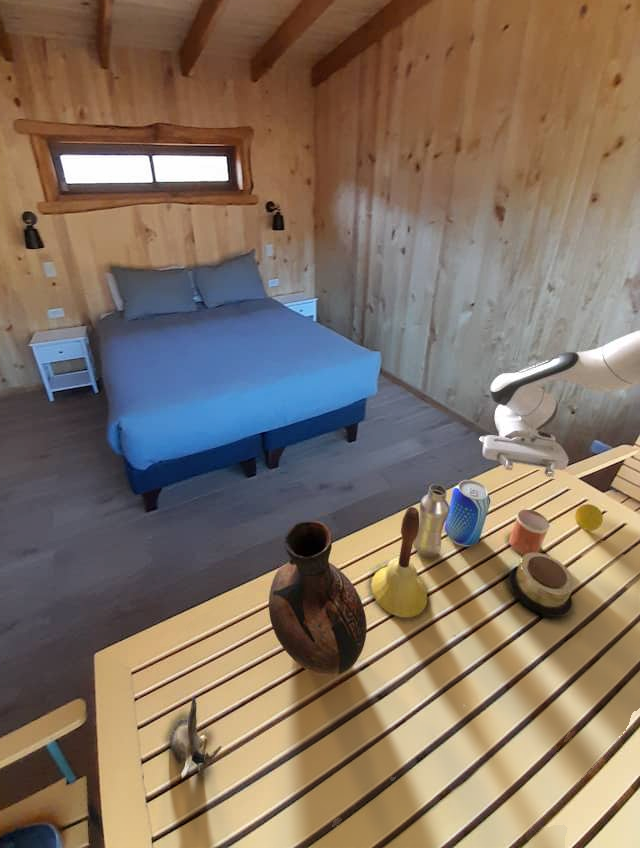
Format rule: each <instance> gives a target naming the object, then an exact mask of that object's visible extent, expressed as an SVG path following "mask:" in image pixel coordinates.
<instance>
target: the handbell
mask: <svg viewBox="0 0 640 848" xmlns="http://www.w3.org/2000/svg"><path fill="white" fill-rule="evenodd" d="M419 518H420V511H419V510H418V509H417V508H416V507H414V506H410V507H408V508H407V509H406V510H405V513H404V515H403V517H402V520H401V526H400V534H401V547H400V551H399V558H394V559H392V560H391V561H389V562H388V564H387V566H384V567H382V568H380V569H379V570H378V571H376V572H375V574H374V576H373V577H372V579H371V585H370V587H371V591H372V595H373V597H374V599H375V601H376V603H377V604H378V605H379V606H380V607H381V608H382V609H383V610H384V611H386V612H387V613H389V614H390V615H393V616H396V617H399V618H412V617H416V616H418V615H420V614H421V613H422V612H423V611H424V610H425V608H426V606H427V604H428V592H427V590H426V587H425V585H424V583H423V582H422V580H421V579H420V577H418V572H417V568H416V567H415V566H414V564H413V563H412V562H410V560H411V555H412V551H413V550H412V549H413V541H414V540H415V539H416V537H417V535H418V531H419V524H420V522H419Z"/></svg>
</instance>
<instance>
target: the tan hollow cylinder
mask: <svg viewBox="0 0 640 848" xmlns="http://www.w3.org/2000/svg"><path fill="white" fill-rule="evenodd" d="M507 584H508V589H509V591H510V593H511V595H512V596H513V598H514V599H515V600H516V601H517V603H518V604H519V605H520V606H521V607H522V608H524V609H525V610H527V611H528V612H530V613H531V614H533V615H535V616H537V617H540V618H543V619H547V620H561V619H563V618H565V617H566V616H567V615H568V614H569V612H570V610H571V608H572V605H573V599H572V595H571V594H572V592H573V590H574V588H575V580H574V577H573V575H572V573H571V571H570V570H569V569H568V568H567V567H566V566H565V565H564V564H563V563H562V562H560V561H559V560H558V559H556V558H554V557H552V556H550V555H548V554H545V553H541V552H539V553H535V552H534V553H528V554H526V555H522V557H521V559H520V561H519V563H518V565H516V566H515V567H513V568H512V569H511V570H510V572H509V576H508V579H507Z"/></svg>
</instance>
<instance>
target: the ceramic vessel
mask: <svg viewBox="0 0 640 848" xmlns="http://www.w3.org/2000/svg"><path fill="white" fill-rule="evenodd" d="M283 544H284V549H285V551H286V553H287V556H288V557H289V561H286V562H285V563H283V564H282V565H281V566H280V567H279V568H278V570H277V571H276V573H275V574H274V577H273V579H272V582H271V585H270V589H269V595H268V613H269V620H270V624H271V626H272V630H273V632H274V634H275V636H276V639H277V641H278V642H279V643H280V645H281V646H282V647H281V648H283V649H284V651H285V652H286V654H287V655H289V656H290V657H291V659H292V660H293V661H294V662H296V663H297V664H298V665H299V666H300V667H301V668H303V669H305V670H306V671H309V672H311V673H314V674H317V675H321V676H336V675H337V676H338V675H341V674H343V673H345V672H347V671H349V670H350V669H351V668H352V667H353V666H354V665H355V664H356V663H357V661H358V659H359V658H360V656H361V654H362V652H363V650H364V646H365V644H366V638H367V629H368V627H367V616H366V611H365V608H364V605H363V602H362V598H361V596H360V595H359V593H358V591H357V589H356V587H355V586H354V585H353V583H352V582H351V580H350V578H348V577H347V575H345V573H344V572H343V571H341V570H340V569H339V568H338V567H337V566H335V565H334V564H332V563H331V562H330V561H329V559H330V554H331V553H332V552H331V551H332V549H333V547H332V546H333V539H332V533H331V531H330V529H329V528H328V526H326V525H325V523H322V522H321V521H317V520H308V521H300V522H297V523H296V524H294V525H293V526H292V527H290V528H289V530H288V532H287V533H286V536H285V538H284V543H283Z"/></svg>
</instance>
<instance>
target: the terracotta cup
mask: <svg viewBox="0 0 640 848" xmlns="http://www.w3.org/2000/svg"><path fill="white" fill-rule="evenodd" d="M549 528H550V522H549V520H548V519H547V518H546V517H545V516H544V515H543V514H541V513H540V512H538V511H535V510H532V509H527V508H525V509H521V510H519V511H518V512H517V514H516V518H515V522H514V524H513V527H512V529H511V534H510V537H509V539H508V541H509V545H510V546H511V548H512V549H513V550H514V551H515V552H517V553H518V554H520V555H522V556H524V555H526V554H528V553H534V552H535V553H540V551H541V548H542V545H543V543H544V541H545V537H546V536H547V533H548V531H549Z"/></svg>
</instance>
